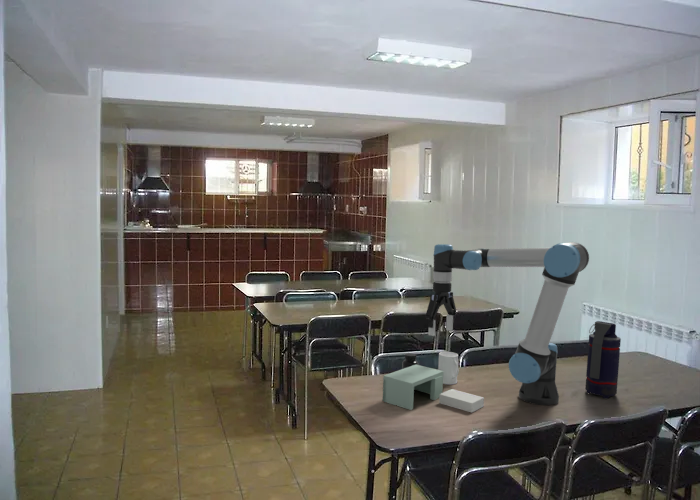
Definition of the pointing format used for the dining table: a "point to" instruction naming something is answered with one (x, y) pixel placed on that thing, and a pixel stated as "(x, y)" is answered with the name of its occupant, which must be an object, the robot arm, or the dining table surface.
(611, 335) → the grenade
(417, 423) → the dining table surface
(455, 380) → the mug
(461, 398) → the lid
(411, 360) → the supplement bottle
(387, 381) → the shelf
